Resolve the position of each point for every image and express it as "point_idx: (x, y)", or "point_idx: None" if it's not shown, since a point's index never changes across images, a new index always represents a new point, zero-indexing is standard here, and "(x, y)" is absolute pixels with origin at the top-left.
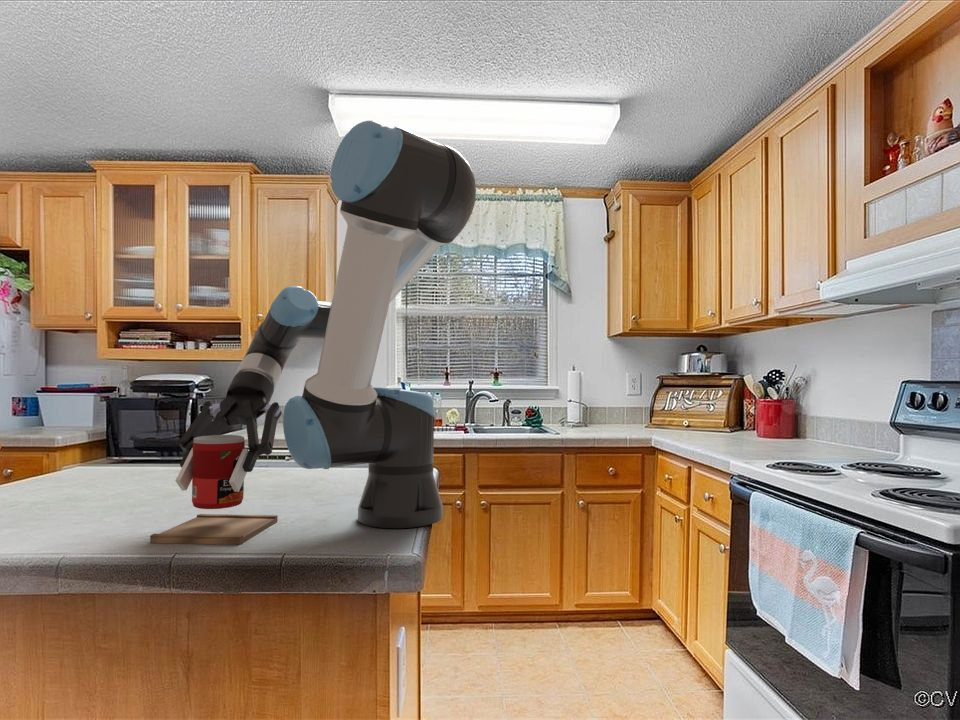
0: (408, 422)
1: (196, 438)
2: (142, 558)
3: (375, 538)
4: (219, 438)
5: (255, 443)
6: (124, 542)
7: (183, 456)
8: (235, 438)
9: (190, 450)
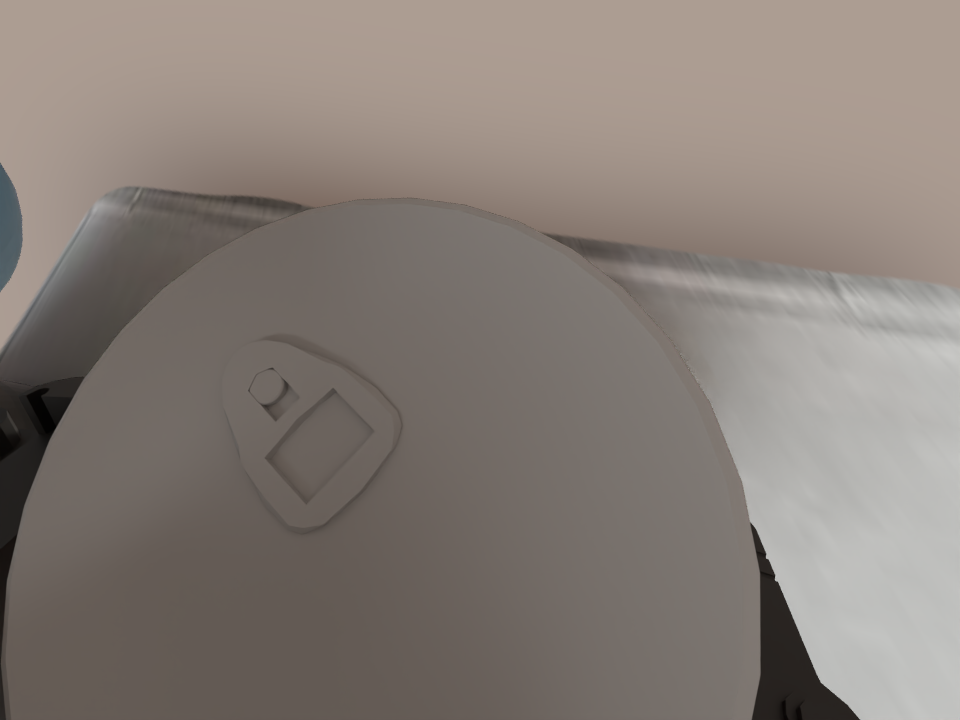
0: None
1: (680, 440)
2: (613, 249)
3: (107, 316)
4: (367, 696)
5: (20, 451)
6: (742, 406)
7: (783, 599)
8: (140, 603)
9: (762, 667)
